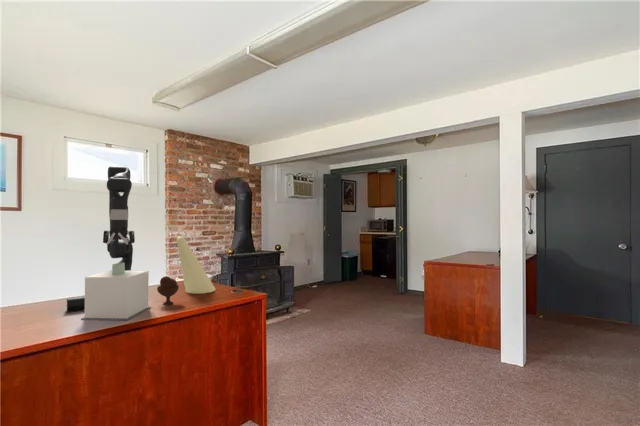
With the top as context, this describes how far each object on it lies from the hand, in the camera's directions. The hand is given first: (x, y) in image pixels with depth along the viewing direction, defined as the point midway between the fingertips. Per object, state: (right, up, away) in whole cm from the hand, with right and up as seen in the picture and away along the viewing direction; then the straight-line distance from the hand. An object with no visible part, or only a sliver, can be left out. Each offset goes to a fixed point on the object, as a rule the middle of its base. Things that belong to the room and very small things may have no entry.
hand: (118, 252), depth 172 cm
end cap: (-23, -30, +5) cm, 38 cm away
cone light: (+20, -31, +51) cm, 63 cm away
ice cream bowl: (+16, -30, +19) cm, 39 cm away
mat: (0, -30, 0) cm, 30 cm away
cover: (0, -29, 0) cm, 29 cm away
